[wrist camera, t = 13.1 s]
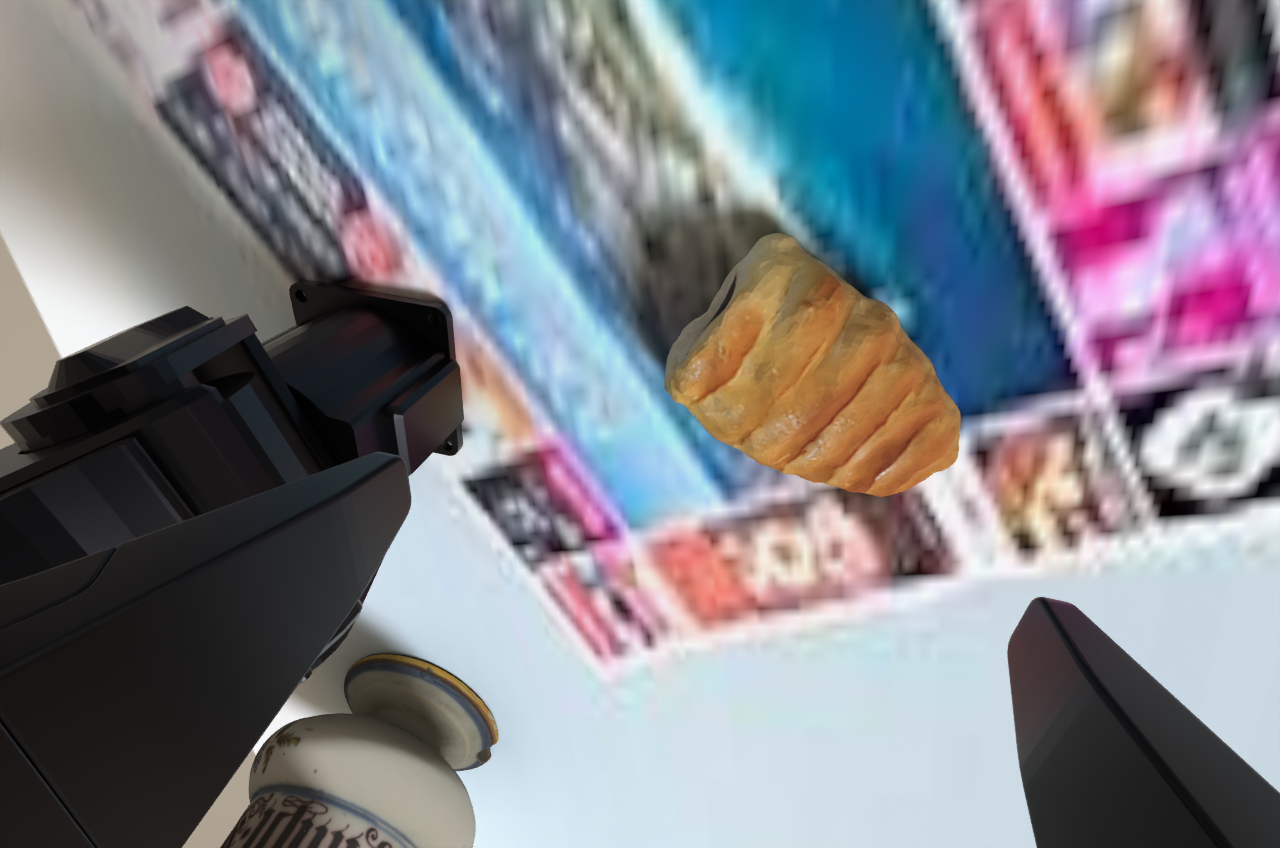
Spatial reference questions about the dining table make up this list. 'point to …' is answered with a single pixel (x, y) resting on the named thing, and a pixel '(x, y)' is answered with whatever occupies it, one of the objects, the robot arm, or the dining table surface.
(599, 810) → the dining table surface
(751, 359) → the pastry
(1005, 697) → the dining table surface
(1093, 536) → the dining table surface
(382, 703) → the apothecary jar
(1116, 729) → the robot arm
